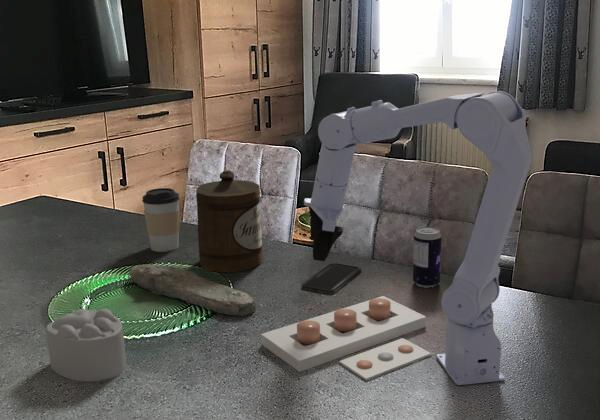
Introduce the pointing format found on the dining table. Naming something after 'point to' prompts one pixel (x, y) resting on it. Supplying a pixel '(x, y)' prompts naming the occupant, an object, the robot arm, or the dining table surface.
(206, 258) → the wooden container
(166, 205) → the coffee cup
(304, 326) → the button
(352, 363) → the pattern card
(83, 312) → the lumpy-topped squat cylinder
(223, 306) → the long grey stone
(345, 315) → the button
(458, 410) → the dining table surface
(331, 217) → the robot arm
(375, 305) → the button
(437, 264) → the beverage can
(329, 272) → the phone
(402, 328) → the button board
